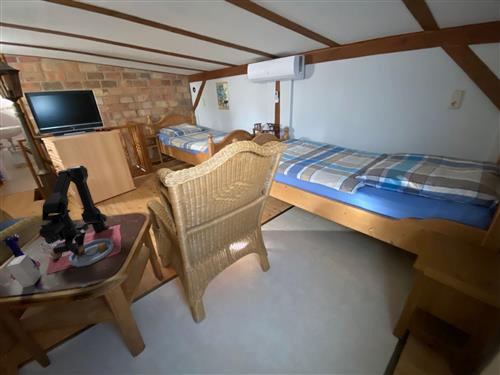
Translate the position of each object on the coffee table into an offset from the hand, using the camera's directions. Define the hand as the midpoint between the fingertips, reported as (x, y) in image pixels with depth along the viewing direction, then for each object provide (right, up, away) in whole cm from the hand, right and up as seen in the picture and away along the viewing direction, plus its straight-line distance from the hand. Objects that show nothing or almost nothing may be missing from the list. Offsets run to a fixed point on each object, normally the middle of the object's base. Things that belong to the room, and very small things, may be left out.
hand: (79, 251), depth 102 cm
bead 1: (-13, -3, +3) cm, 14 cm away
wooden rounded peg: (+10, 0, +3) cm, 11 cm away
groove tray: (+5, -2, +2) cm, 6 cm away
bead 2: (0, -1, 0) cm, 1 cm away
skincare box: (-12, -10, -11) cm, 19 cm away
